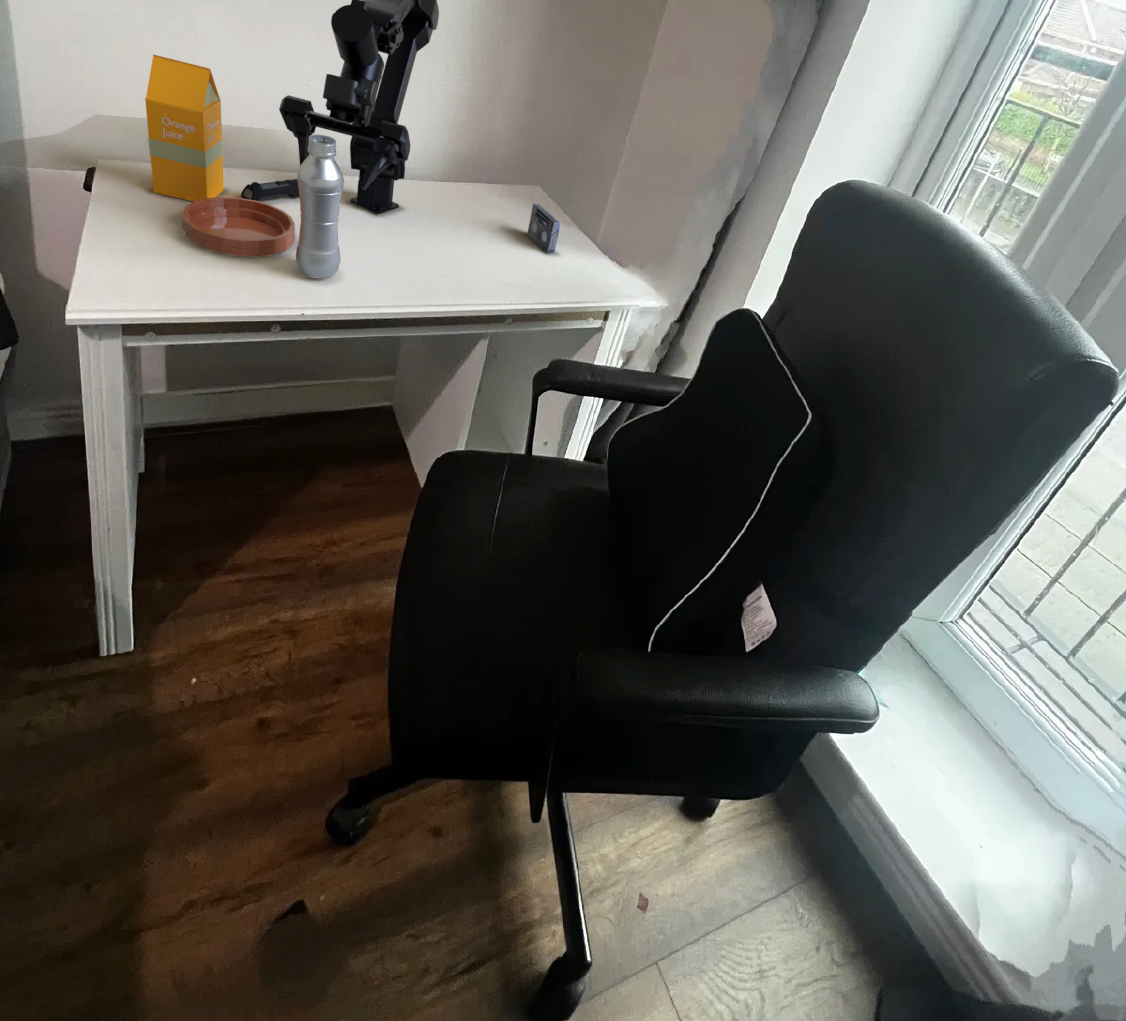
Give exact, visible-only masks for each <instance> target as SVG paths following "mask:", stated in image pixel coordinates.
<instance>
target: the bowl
mask: <svg viewBox="0 0 1126 1021" xmlns="http://www.w3.org/2000/svg"><path fill="white" fill-rule="evenodd" d="M181 220H182V230H183V232H184V235H185V237H186V238H188V239H189V240H190V241H191V242H192V243H193V244H196V245H197V246H199V247H201V248H203V249H206V250H209V251H213V252H216V253H218V254H223V255H229V256H236V257H251V258H252V257H256V258H257V257H264V256H273V255H277V254H280V253H283V252H286V251H288V250H289V249H290V248H291V247H292V246H293V245H294V242H295V238H296V223H295V221H294V219H293V218H292V216H291V215H289V213H287V212H286V211H284V210H283V209H280V208H279V207H276V206H275V205H272V204H269V203H265V202H262V201H255V200H249V199H243V198H241V197H230V196H219V197H218V196H217V197H215V198H205V199H201V200H197V201H194V202H193V201H191V203H188V204H187V205H185V206H184V208H183V210H182V212H181Z"/></svg>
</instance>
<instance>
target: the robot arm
mask: <svg viewBox="0 0 1126 1021" xmlns="http://www.w3.org/2000/svg"><path fill="white" fill-rule="evenodd" d="M439 17H440V9H439V5H438V0H351V2H350V4H345V5H342V6H341V7H338V8H337V9H336V10H335V12H333V13H332V15H331V19H330V25H331V29H332V33H333V36H334V40H335V44H336V48H337V50H338V55H339V57H340V59H342V61H343V64H342V68H341V71H340V72H341V73H340V74H339V75H335V74H332V73H331V74H330V73H326V75H325V80H324V86H323V93H322V98H323V100H326V102H325V108H326V110H327V111H330V112H329V114H328V115H327V114H325V113H320V112H316V111H315V110H314V106H313V104H312V101H311V100H308V99H304V98H301V97H297V96H293V95H290V94H289V95H286V96H284V98H282V99H281V101H280V105H279V108H278V110H279V113H280V115H281V117H282V120H283V122H284V125H285V127H286V130H288V131H290V132H291V133H292V135H293V136H294V137H295V138H296V139H297V145H298V146H297V147H298V158H299V167H300V166H301V165H302V163H303V162H304V160H305V159H306V158H307V157H308V156H309V154H310V153H309V152H308V146H309V136H311V135H314V134H315V132H316V129H317V128H320V129H324V130H328V131H332V132H335V133H338V134H342V135H346V136H351V138H350V144H349V155H350V169H351V170H357V171H359V173H358V174H359V175H358V180H357V189H356V190H357V192H356V197H353V198H350V200H349V201H350V203H351V204H354V205H356V206H358V207H360V208H363V209H365V210H367V211H369V212H372V213H374V214H376V215H381V214H384V213H387V212H389V211H393V210H396V209H399V207H400V204H399V203H396V202H394V201H393V198H394V188H395V187H394V186H395V182H396V181H398V180H404V179H405V175H406V162H407V161H408V160H409V157H410V152H411V140H410V139H411V138H410V135H409V130H408V129H407V126H406V125H402V124H399V119H400V117H401V113H402V109H403V105H404V101H405V97H406V94H407V90H408V86H409V83H410V79H411V75H412V71H413V68H414V64H415V61H416V57H417V54H418V52H419V51H420V50H422V49H423V48H424V47H426V46H427V45H428V44H430V42H431V39H432V35H433V33H434V32H433V31H436V30H437V27H438V23H439V19H440V18H439ZM380 53H383V54H386V55H387V58H386V60H385V61H384V60H383V59H384V58H383V57H382V55H381V54H380Z"/></svg>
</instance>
